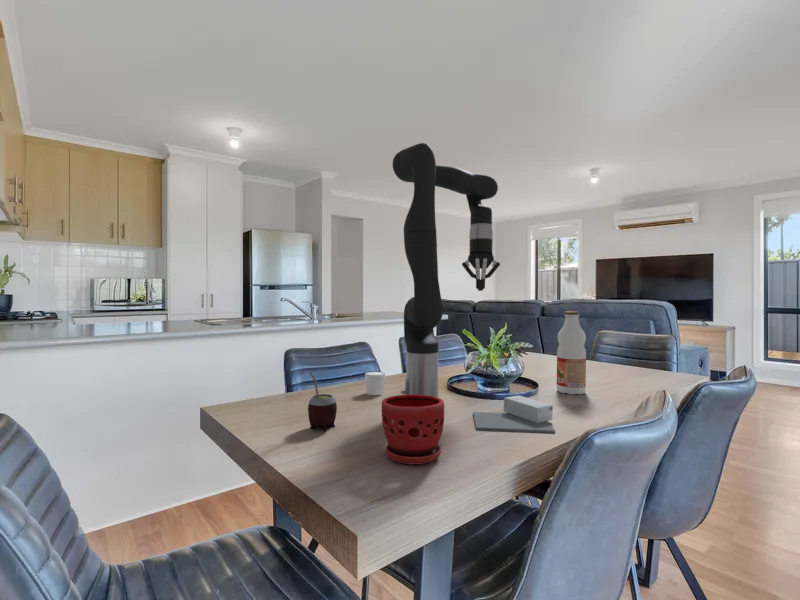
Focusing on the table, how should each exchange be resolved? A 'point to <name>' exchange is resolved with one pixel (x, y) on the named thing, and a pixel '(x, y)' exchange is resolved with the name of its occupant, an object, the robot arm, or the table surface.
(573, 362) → the fruit juice
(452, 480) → the table surface
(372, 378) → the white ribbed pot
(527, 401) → the skincare box
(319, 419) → the mate gourd
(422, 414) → the plant pot
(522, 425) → the slate mat
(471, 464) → the table surface
